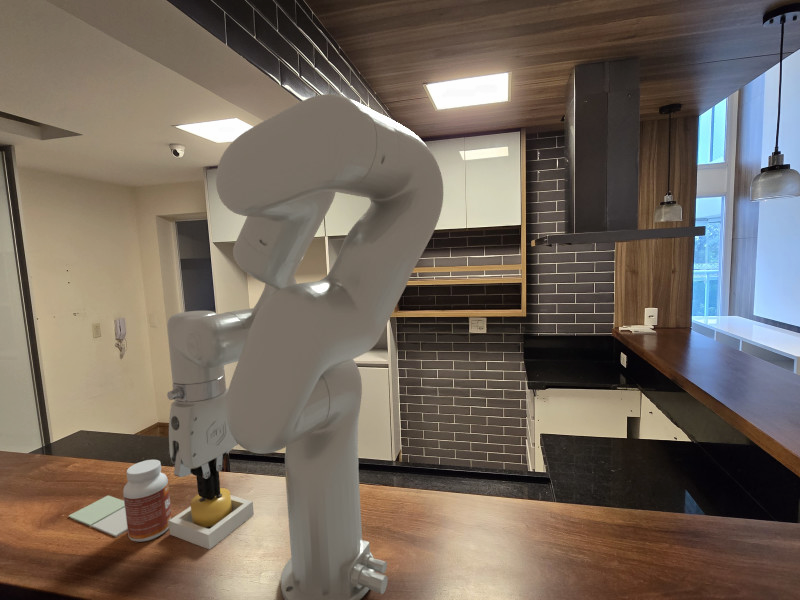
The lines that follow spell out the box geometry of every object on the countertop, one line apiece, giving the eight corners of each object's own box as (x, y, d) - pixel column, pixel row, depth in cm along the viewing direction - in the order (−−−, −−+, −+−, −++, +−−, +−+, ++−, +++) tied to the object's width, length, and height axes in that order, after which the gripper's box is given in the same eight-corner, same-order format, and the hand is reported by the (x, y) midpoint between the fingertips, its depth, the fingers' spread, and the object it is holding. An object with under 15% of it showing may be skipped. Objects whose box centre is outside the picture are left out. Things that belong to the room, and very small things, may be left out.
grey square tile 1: (155, 513, 71) (154, 511, 71) (116, 537, 65) (115, 535, 65) (131, 505, 74) (131, 503, 74) (92, 527, 68) (92, 525, 68)
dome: (239, 508, 69) (238, 491, 68) (210, 531, 63) (208, 511, 63) (214, 501, 71) (212, 483, 71) (183, 521, 66) (181, 503, 66)
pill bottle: (177, 529, 67) (170, 465, 65) (133, 549, 62) (125, 481, 61) (166, 513, 71) (160, 453, 70) (124, 530, 67) (117, 466, 66)
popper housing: (253, 514, 70) (252, 501, 69) (209, 549, 62) (208, 534, 61) (216, 502, 74) (215, 490, 73) (170, 534, 65) (168, 520, 65)
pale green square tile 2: (129, 504, 74) (129, 502, 74) (90, 526, 68) (90, 524, 68) (108, 496, 77) (108, 495, 77) (68, 517, 71) (68, 515, 71)
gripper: (173, 407, 57) (184, 529, 59) (252, 377, 70) (259, 477, 72) (138, 401, 60) (151, 517, 62) (221, 373, 73) (229, 469, 75)
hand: (209, 495), depth 67 cm, fingers closed
